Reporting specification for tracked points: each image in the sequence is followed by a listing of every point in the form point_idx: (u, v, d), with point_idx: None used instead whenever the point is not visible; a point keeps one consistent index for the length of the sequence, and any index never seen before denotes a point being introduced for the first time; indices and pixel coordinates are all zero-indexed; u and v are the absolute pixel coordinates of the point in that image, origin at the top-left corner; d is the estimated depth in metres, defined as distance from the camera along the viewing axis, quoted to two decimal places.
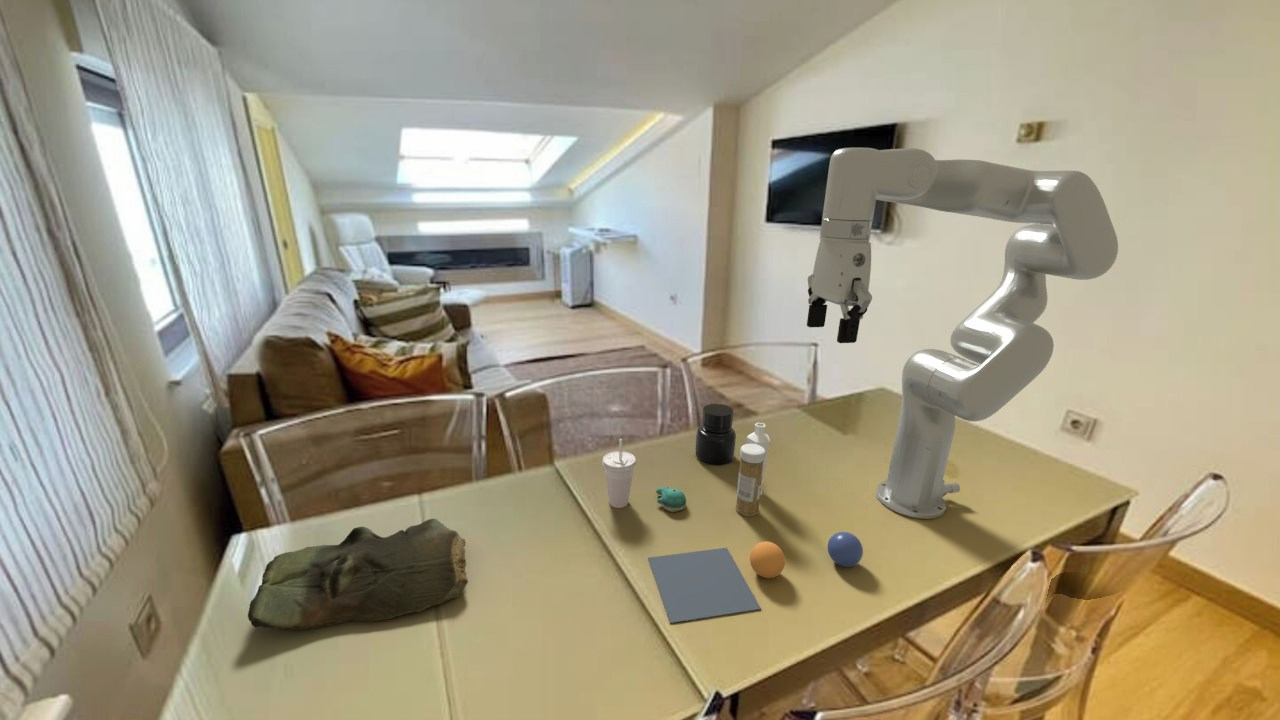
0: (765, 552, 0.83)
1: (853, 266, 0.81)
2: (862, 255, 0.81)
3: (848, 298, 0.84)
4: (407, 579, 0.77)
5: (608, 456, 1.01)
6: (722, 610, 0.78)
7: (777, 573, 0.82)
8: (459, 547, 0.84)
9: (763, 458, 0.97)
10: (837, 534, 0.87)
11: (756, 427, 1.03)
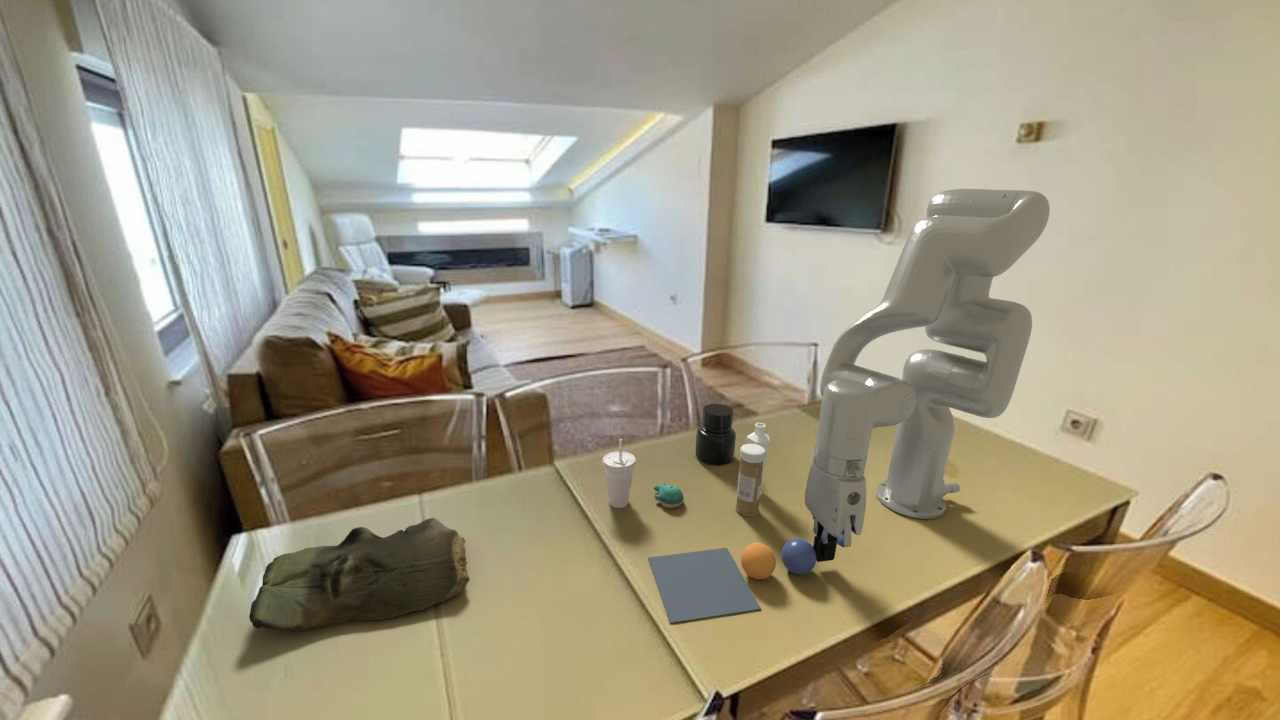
0: (749, 559, 0.82)
1: (847, 504, 0.78)
2: (857, 492, 0.78)
3: None
4: (409, 578, 0.77)
5: (608, 456, 1.01)
6: (722, 610, 0.78)
7: (770, 572, 0.82)
8: (459, 545, 0.84)
9: (763, 458, 0.97)
10: None
11: (756, 427, 1.03)
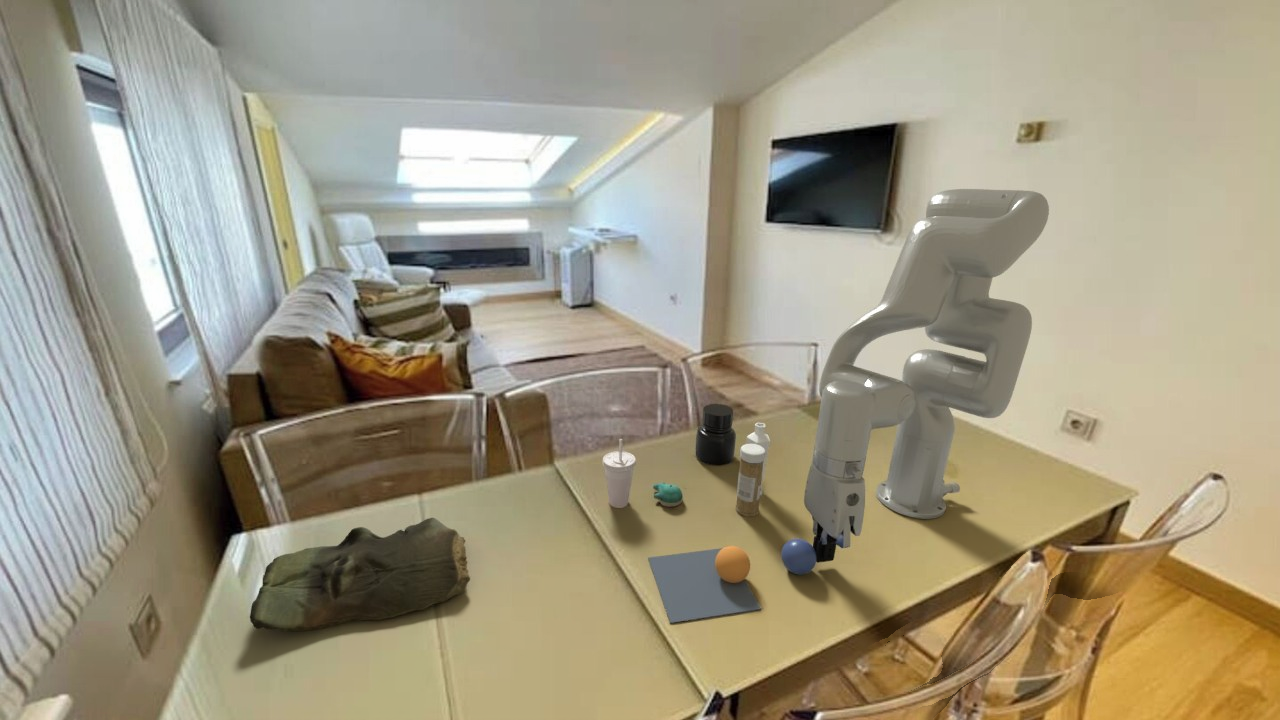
0: None
1: (846, 506, 0.78)
2: (856, 493, 0.78)
3: None
4: (410, 577, 0.77)
5: (608, 456, 1.01)
6: (722, 610, 0.78)
7: (740, 570, 0.81)
8: (460, 545, 0.85)
9: (763, 458, 0.97)
10: None
11: (756, 427, 1.03)
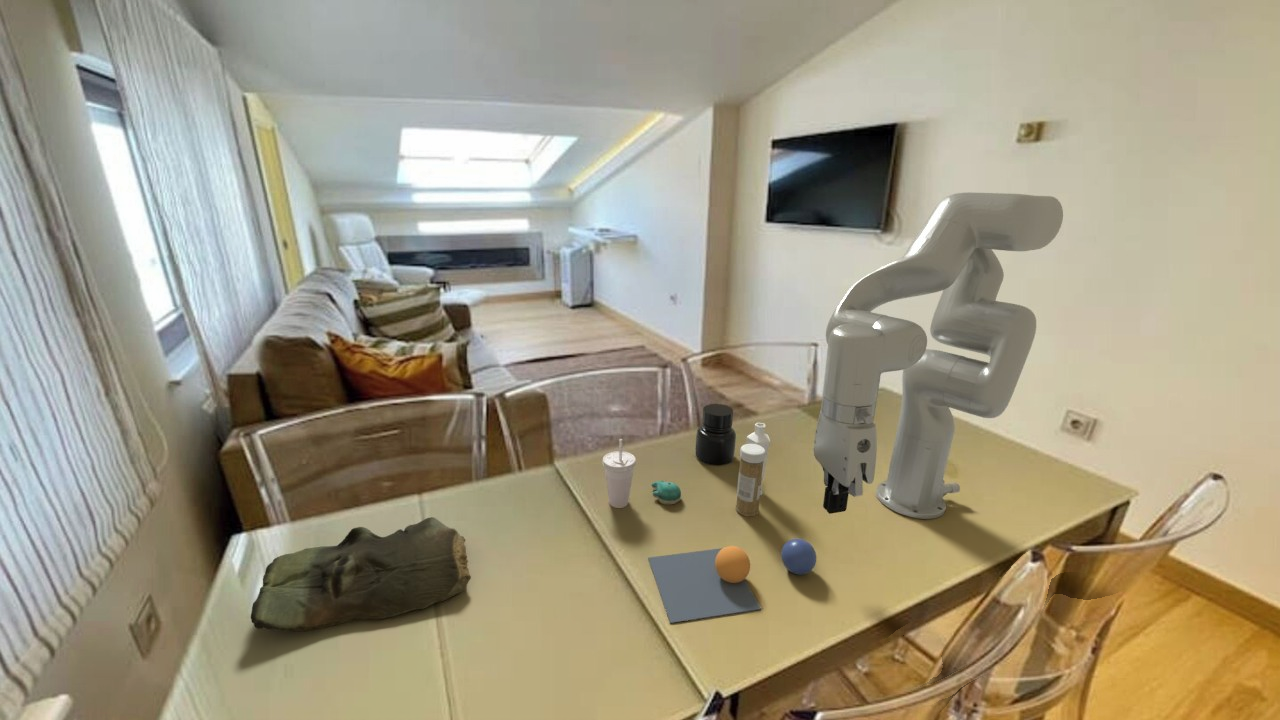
0: None
1: (858, 452, 0.76)
2: (867, 439, 0.76)
3: None
4: (410, 576, 0.78)
5: (608, 456, 1.01)
6: (722, 610, 0.78)
7: (740, 570, 0.81)
8: (460, 544, 0.85)
9: (763, 458, 0.97)
10: None
11: (756, 427, 1.03)
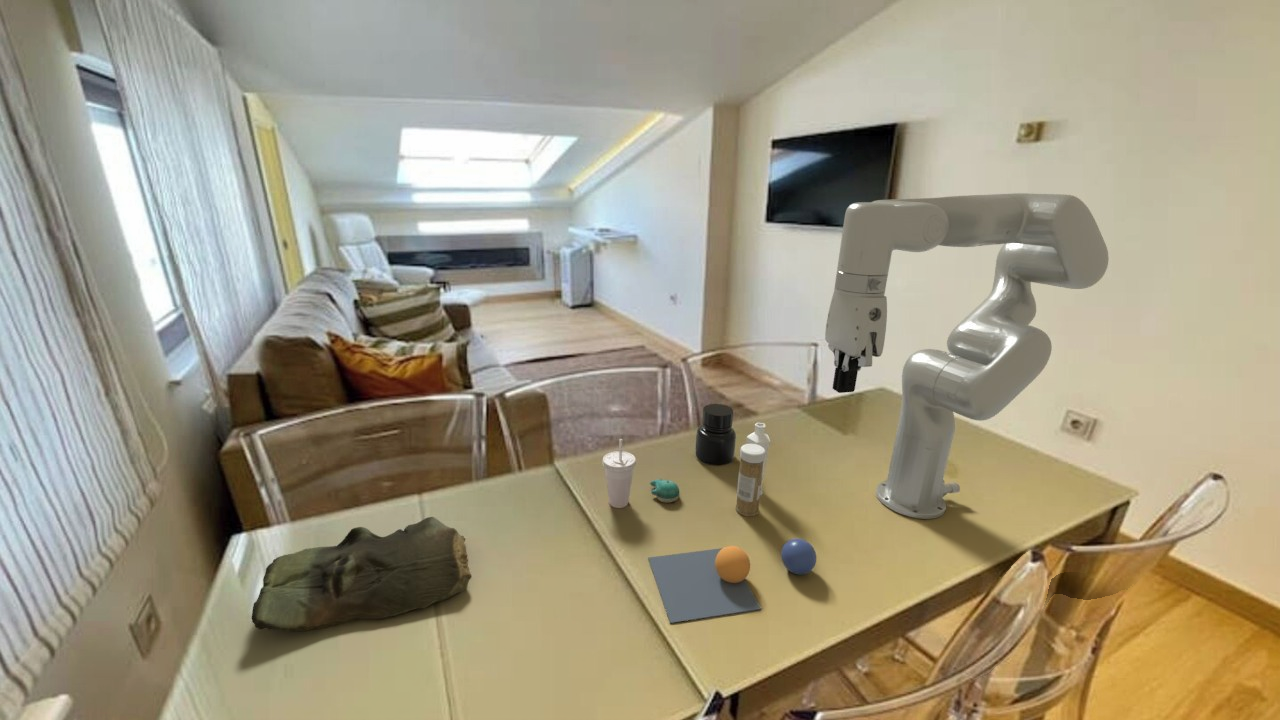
0: None
1: (869, 321, 0.80)
2: (878, 309, 0.81)
3: None
4: (411, 576, 0.78)
5: (608, 456, 1.01)
6: (722, 610, 0.78)
7: (740, 570, 0.81)
8: (460, 543, 0.85)
9: (763, 458, 0.97)
10: None
11: (756, 427, 1.03)
